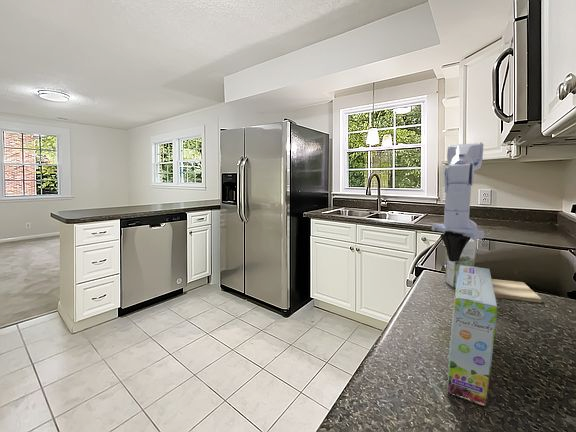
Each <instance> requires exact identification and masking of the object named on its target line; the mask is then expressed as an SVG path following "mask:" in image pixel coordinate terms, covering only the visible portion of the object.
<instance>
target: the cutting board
mask: <svg viewBox="0 0 576 432" xmlns="http://www.w3.org/2000/svg"><path fill="white" fill-rule="evenodd" d="M491 279H492V284H493V289H494V293H495V298H499V299H500V298H501V299H508V300H509V299H510V300H514V301H515V300H517V301H523V302H530V303H531V302H532V303H533V302H534V303H543V298H542V297H540V296H539V295H538V294H537V293H536V292H535V291H534V290H533V289H531V288H530V286H528V285H527V284H526V282H523V281H515V280H506V279H504V280H503V279H495V278H491Z"/></svg>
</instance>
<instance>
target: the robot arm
mask: <svg viewBox="0 0 576 432" xmlns="http://www.w3.org/2000/svg"><path fill="white" fill-rule="evenodd" d="M483 154H484V143H483V142H476V143H464V144H463V143H462V144H461V143H460V144H449V145H448V147H447V153H446V161H447V165H448V166H445V167H444V172H443V183H444V193H445V196H444V215H443V223H436V222H435V223H431V231H437V232H443V233H442V234H440V238H441V240H442V242H443V244H444V246H445V249H446V255H447V254H448V258H449V261H452V262H455V261H459V259H460V256H461V253H462V251H463V249H464V247H465V245H466V244H467V243H468V241H469V240H470V239H472V240H474V241H476V246H478V240H482V239H484V238H485V237H484V236H485V231H484V230H480V229H478V224H477V223H476V222H475V221H473V220H471V219H470V208H471V193H472V186H473V184H474V181H475V180H474V179H475V171H477V170H479V169H481V166H482V165H483V164H482V162H483V157H484V155H483ZM444 268H445V270H446V264H444Z"/></svg>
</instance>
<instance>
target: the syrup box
mask: <svg viewBox="0 0 576 432" xmlns="http://www.w3.org/2000/svg"><path fill="white" fill-rule="evenodd" d="M476 250H477V245H476V241H474V240H472V239H470V240H469V241H468V243H467V244H466V245H465V247H464V249H463V251H462V253H461V256H460V259H459V261H455V262H452V261H449V258H448V254H447V253H446V255H445V257H446V258H445V265H446V269H445V272H444V282H445V283H446V284H448V285H449V286H451V287H452V288H455V289H456V284H457V278H458V272H459V267H460V265H463V266H473V267H475V262H476Z"/></svg>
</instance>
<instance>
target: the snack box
mask: <svg viewBox="0 0 576 432" xmlns="http://www.w3.org/2000/svg"><path fill="white" fill-rule="evenodd" d="M492 279H493V278H492V276H491V271H490V268H485V267H479V266H474V267H473V266H463V265H460V267H459V272H458V278H457V284H456V288H455V293H454V298H453V308H452V319H451V328H450V341H449V355H448V374H447V377H448V378H447V389H446V394H447V393H451V394H455V395H459V396H463V397H466V398H469V399H471V400H474V401H478V402H481V403H484V404H486V403H487V404H488V396H489V387H490V386H489V385H490V380H491V379H490V377H491V369H492V362H493V354H494V353H493V352H494V343H495V333H496V326H497V315H498V304H497V299H496V298H497V297H495V293H494V289H493V284H492Z"/></svg>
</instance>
